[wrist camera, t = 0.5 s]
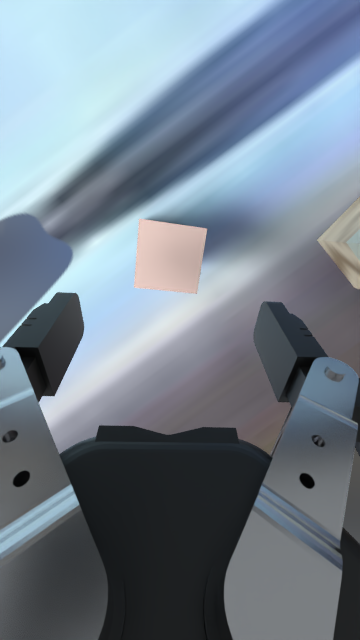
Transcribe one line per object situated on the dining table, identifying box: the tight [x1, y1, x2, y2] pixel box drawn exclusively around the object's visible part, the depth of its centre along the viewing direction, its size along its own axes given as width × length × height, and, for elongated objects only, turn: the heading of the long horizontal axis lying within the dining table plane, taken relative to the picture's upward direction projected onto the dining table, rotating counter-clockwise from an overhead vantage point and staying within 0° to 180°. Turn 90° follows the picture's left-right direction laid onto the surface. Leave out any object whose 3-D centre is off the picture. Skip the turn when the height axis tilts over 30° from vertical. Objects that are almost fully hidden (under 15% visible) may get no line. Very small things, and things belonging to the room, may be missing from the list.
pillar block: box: [134, 219, 207, 294], centre depth 23 cm, size 4×4×12 cm
